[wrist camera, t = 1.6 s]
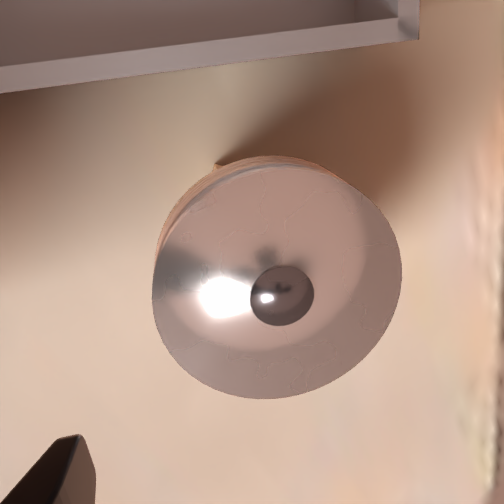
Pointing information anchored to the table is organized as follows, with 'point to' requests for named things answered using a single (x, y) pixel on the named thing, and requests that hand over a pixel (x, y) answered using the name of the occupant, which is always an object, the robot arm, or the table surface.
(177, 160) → the table surface
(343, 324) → the disc
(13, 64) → the housing
